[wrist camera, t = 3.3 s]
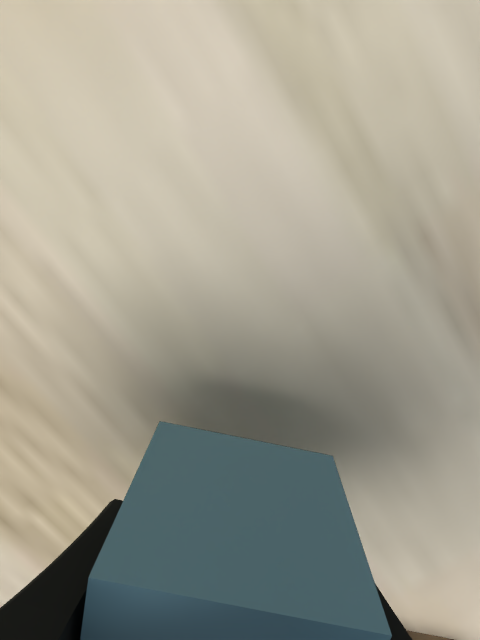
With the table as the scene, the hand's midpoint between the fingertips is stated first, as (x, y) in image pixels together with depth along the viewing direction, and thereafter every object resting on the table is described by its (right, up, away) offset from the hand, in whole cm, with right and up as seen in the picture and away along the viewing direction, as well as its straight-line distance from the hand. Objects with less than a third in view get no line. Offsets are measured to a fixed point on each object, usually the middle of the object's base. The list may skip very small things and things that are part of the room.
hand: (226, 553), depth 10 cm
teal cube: (0, 0, +2) cm, 2 cm away
